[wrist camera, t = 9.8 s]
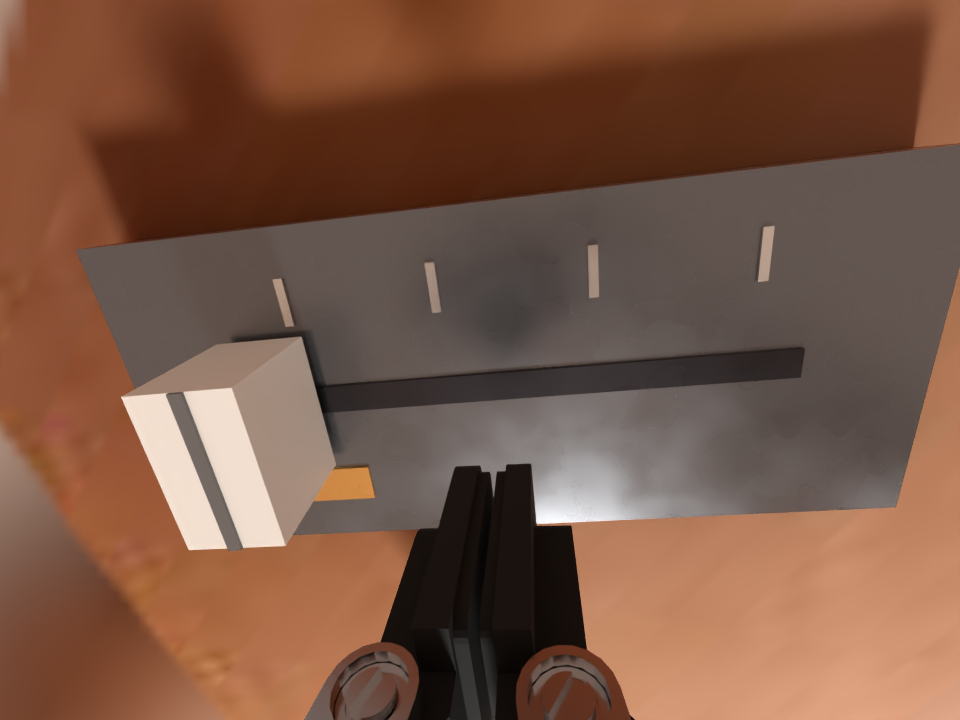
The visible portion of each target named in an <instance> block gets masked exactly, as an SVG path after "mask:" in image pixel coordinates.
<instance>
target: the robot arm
mask: <svg viewBox="0 0 960 720" xmlns="http://www.w3.org/2000/svg"><path fill="white" fill-rule="evenodd" d="M304 720H635V719H634V718H632V717H631V716H630V715H629V712H628V708H627V705H626V702H625V699H624V696H623V693H622V690H621V687H620V685H619V683H618V681H617V679H616V677H615V675H614V673H613V672H612V670H611V669H610V668H609V667H608V666H607V665H606V664H605V663H604V662H603V660H602V659H600V658H599V657H597V656H596V655H594V654H593V653H591V652H590V651H588V650H587V647H586V639H585V631H584V623H583V615H582V607H581V599H580V591H579V583H578V575H577V567H576V558H575V550H574V542H573V534H572V527H571V526H537V523H536V512H535V500H534V488H533V477H532V466H531V463H530V464H507V465H506V471H497V474H496V482H495V491H494V497H493V489H492V481H491V474H490V472H482V470H481V466H480V465H478V466H456V467H455V468H454V471H453V475H452V479H451V482H450V486H449V490H448V493H447V497H446V501H445V504H444V508H443V512H442V515H441V519H440V523H439V526H438V528H422V529H420V530H419V531H418V532H417V534H416V537H415V540H414V543H413V546H412V549H411V552H410V555H409V558H408V561H407V564H406V567H405V570H404V573H403V576H402V579H401V582H400V585H399V588H398V591H397V594H396V597H395V600H394V603H393V606H392V609H391V612H390V615H389V618H388V621H387V624H386V627H385V630H384V633H383V636H382V639H381V642H377V643H374V644H370V645H366V646H363V647H361V648H359V649H358V650H356V651H354V652H352V653H350V654H349V655H348V656H347V657H346V658H344V659H343V660H342V661H341V662H340V663H339V664H338V665H337V666H336V667H335V669H334V670H333V671H332V673H331V674H330V675H329V677H328V678H327V680H326V682H325V683H324V685H323V687H322V689H321V690H320V692H319V694H318V696H317V698H316V699H315V701H314V703H313V705H312V707H311V708H310V710H309V712H308V714H307V716H306V717H305V719H304Z"/></svg>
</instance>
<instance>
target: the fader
mask: <svg viewBox="0 0 960 720" xmlns="http://www.w3.org/2000/svg"><path fill="white" fill-rule="evenodd" d="M121 398H122V400H123V402H124V405H125V407H126V409H127V411H128V414H129V416H130V418H131V420H132V423H133V425H134V427H135V429H136V432H137V434H138V436H139V439H140V441H141V443H142V445H143V448H144V450H145V452H146V454H147V457H148V459H149V461H150V463H151V466H152V468H153V470H154V472H155V475H156V477H157V479H158V481H159V484H160V486H161V488H162V491H163V493H164V495H165V497H166V500H167V502H168V504H169V506H170V509H171V511H172V513H173V515H174V518H175V520H176V522H177V524H178V527H179V529H180V531H181V533H182V536H183V538H184V540H185V543H186V545H187V547H188V549H189V550H201V549H224V548H227V549H228V551H236V550H242V549H243V548H247V547H270V546H286V545H287V543H288V541H289V540H290V538H291V537H292V535H293V533H294V532H295V530H296V529H297V527H298V525H299V524H300V522H301V520H302V519H303V517H304V516H305V514H306V512H307V511H308V509H309V508H310V506H311V504H312V503H313V501H314V499H315V498H316V496H317V495H318V493H319V491H320V490H321V488H322V487H323V485H324V483H325V482H326V480H327V479H328V477H329V475H330V474H331V472H332V470H333V469H334V467H335V466H336V463H335V459H334V455H333V452H332V448H331V444H330V441H329V437H328V433H327V429H326V426H325V422H324V418H323V415H322V411H321V407H320V403H319V400H318V396H317V392H316V389H315V385H314V381H313V378H312V374H311V370H310V366H309V363H308V359H307V355H306V352H305V348H304V344H303V340H302V337H292V338H281V339H270V340H260V341H249V342H238V343H227V344H217V345H215V346H213V347H211V348H209V349H207V350H206V351H204V352H202V353H200V354H198V355H197V356H195V357H193V358H191V359H189V360H187V361H186V362H184V363H182V364H180V365H178V366H177V367H175V368H173V369H171V370H169V371H167V372H166V373H164V374H162V375H160V376H158V377H157V378H155V379H153V380H151V381H149V382H147V383H146V384H144V385H142V386H140V387H138V388H137V389H135V390H133V391H131V392H129V393H127V394H126V395H124V396H122V397H121Z"/></svg>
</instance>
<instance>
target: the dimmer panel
mask: <svg viewBox="0 0 960 720" xmlns="http://www.w3.org/2000/svg"><path fill="white" fill-rule="evenodd" d="M76 251H77V254H78V256H79V258H80V261H81V263H82V265H83V268H84V270H85V272H86V275H87V277H88V279H89V282H90V284H91V286H92V289H93V291H94V293H95V296H96V298H97V300H98V303H99V305H100V308H101V310H102V312H103V315H104V317H105V319H106V322H107V324H108V326H109V329H110V331H111V333H112V336H113V338H114V340H115V343H116V345H117V347H118V350H119V352H120V354H121V357H122V359H123V361H124V364H125V366H126V368H127V371H128V373H129V375H130V378H131V380H132V382H133V385H134V387H135V389H137V388H138V387H140V386H142V385H144V384H146V383H147V382H149V381H151V380H153V379H155V378H157V377H158V376H160V375H162V374H164V373H166V372H167V371H169V370H171V369H173V368H175V367H177V366H178V365H180V364H182V363H184V362H186V361H187V360H189V359H191V358H193V357H195V356H197V355H198V354H200V353H202V352H204V351H206V350H207V349H209V348H211V347H213V346H215V345H217V344H227V343H238V342H249V341H260V340H270V339H281V338H292V337H302V340H303V344H304V348H305V352H306V355H307V359H308V363H309V366H310V370H311V374H312V378H313V381H314V385H315V389H316V392H317V396H318V400H319V403H320V407H321V411H322V415H323V418H324V422H325V426H326V429H327V433H328V437H329V441H330V444H331V448H332V452H333V455H334V459H335V463H336V466H335V467H334V469H333V470H332V472H331V474H330V475H329V477H328V479H327V480H326V482H325V483H324V485H323V487H322V488H321V490H320V491H319V493H318V495H317V496H316V498H315V499H314V501H313V503H312V504H311V506H310V508H309V509H308V511H307V512H306V514H305V516H304V517H303V519H302V520H301V522H300V524H299V525H298V527H297V529H296V530H295V532H294V533H293V535H307V534H328V533H350V532H372V531H393V530H415V529H422V528H438V526H439V523H440V519H441V515H442V512H443V508H444V504H445V501H446V497H447V493H448V490H449V486H450V482H451V479H452V475H453V471H454V468H455V467H456V466H478V465H480V466H481V470H482V472H490V474H491V481H492V489H493V497H494V491H495V482H496V474H497V471H506V465H507V464H530V463H531V466H532V477H533V488H534V500H535V512H536V523H537V524H545V523H566V522H588V521H610V520H631V519H653V518H675V517H696V516H718V515H740V514H761V513H783V512H805V511H826V510H848V509H870V508H891V507H896V505H897V501H898V498H899V494H900V490H901V486H902V483H903V479H904V475H905V471H906V467H907V464H908V460H909V456H910V452H911V449H912V445H913V441H914V437H915V433H916V430H917V426H918V422H919V418H920V415H921V411H922V407H923V403H924V399H925V396H926V392H927V388H928V384H929V381H930V377H931V373H932V369H933V365H934V362H935V358H936V354H937V350H938V347H939V343H940V339H941V335H942V331H943V328H944V324H945V320H946V316H947V313H948V309H949V305H950V301H951V297H952V294H953V290H954V286H955V282H956V279H957V275H958V271H959V267H960V143H958V144H947V145H936V146H924V147H913V148H905V149H897V150H888V151H880V152H872V153H863V154H855V155H846V156H838V157H830V158H821V159H813V160H805V161H796V162H788V163H780V164H771V165H763V166H755V167H746V168H738V169H730V170H721V171H713V172H705V173H696V174H688V175H680V176H671V177H663V178H655V179H646V180H638V181H630V182H621V183H613V184H604V185H596V186H588V187H579V188H571V189H563V190H554V191H546V192H538V193H529V194H521V195H513V196H504V197H496V198H488V199H479V200H471V201H463V202H454V203H446V204H438V205H429V206H421V207H413V208H404V209H396V210H388V211H379V212H371V213H362V214H354V215H346V216H337V217H329V218H321V219H312V220H304V221H296V222H287V223H279V224H271V225H262V226H254V227H246V228H237V229H229V230H221V231H212V232H204V233H196V234H187V235H179V236H171V237H162V238H154V239H146V240H137V241H130V242H124V243H117V244H111V245H104V246H98V247H92V248H85V249H79V250H76Z"/></svg>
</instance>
